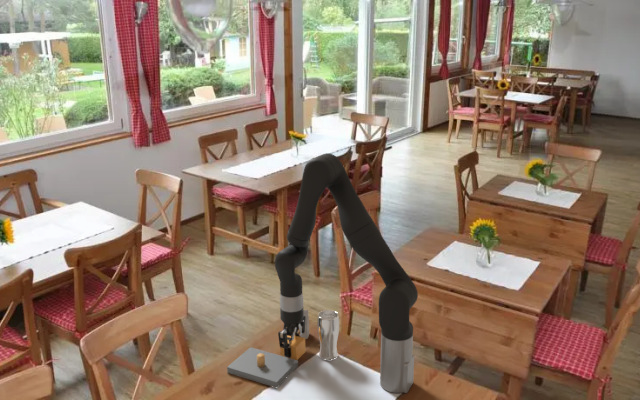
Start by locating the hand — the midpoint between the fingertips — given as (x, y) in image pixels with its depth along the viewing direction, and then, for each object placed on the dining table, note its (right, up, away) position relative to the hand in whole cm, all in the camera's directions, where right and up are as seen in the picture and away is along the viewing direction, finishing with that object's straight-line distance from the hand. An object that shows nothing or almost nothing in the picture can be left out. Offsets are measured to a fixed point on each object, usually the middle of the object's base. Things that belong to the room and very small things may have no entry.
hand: (293, 351), depth 194 cm
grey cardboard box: (+2, +2, +11) cm, 12 cm away
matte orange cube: (0, -1, 0) cm, 1 cm away
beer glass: (+12, -1, -1) cm, 12 cm away
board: (-9, -3, -8) cm, 13 cm away
